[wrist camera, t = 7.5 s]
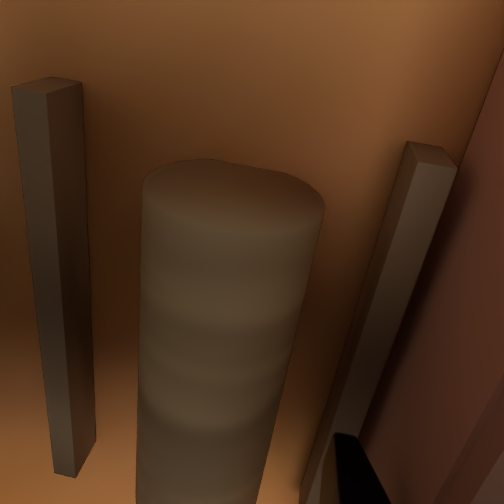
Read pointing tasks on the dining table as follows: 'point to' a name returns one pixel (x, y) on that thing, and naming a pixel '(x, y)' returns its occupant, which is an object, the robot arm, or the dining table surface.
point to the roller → (217, 324)
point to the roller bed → (78, 284)
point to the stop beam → (451, 345)
